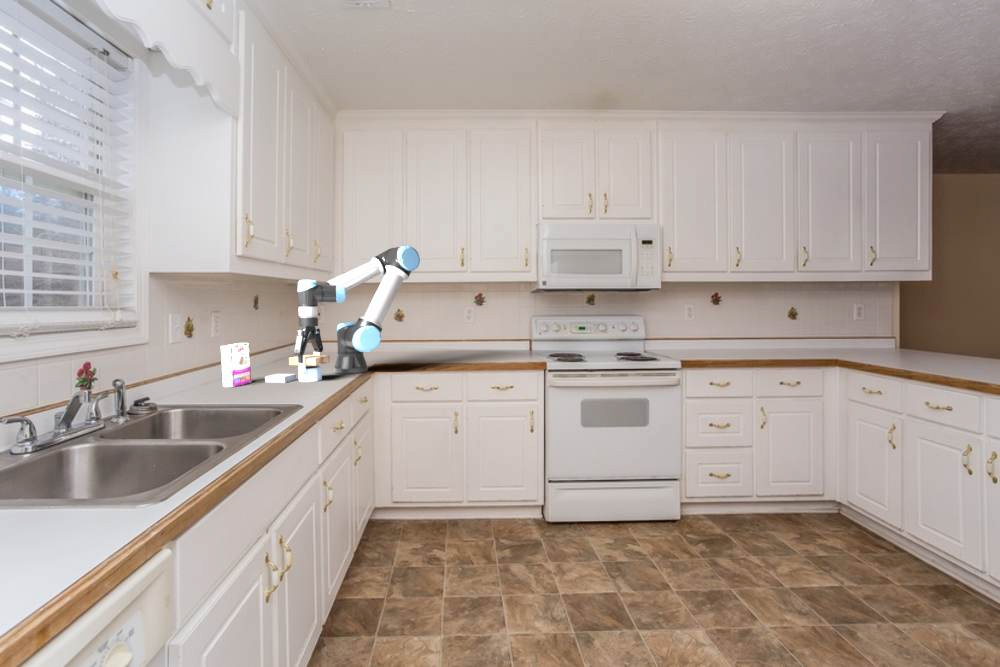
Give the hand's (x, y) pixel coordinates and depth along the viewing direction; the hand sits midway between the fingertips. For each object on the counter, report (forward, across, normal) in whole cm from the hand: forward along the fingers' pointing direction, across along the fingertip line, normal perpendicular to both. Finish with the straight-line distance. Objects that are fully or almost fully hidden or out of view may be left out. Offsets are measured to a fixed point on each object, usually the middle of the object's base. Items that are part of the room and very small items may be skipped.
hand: (309, 369), depth 212 cm
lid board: (-2, 0, 0) cm, 2 cm away
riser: (+5, +4, -11) cm, 13 cm away
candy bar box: (+5, +15, -23) cm, 28 cm away
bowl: (+5, 0, 0) cm, 5 cm away
